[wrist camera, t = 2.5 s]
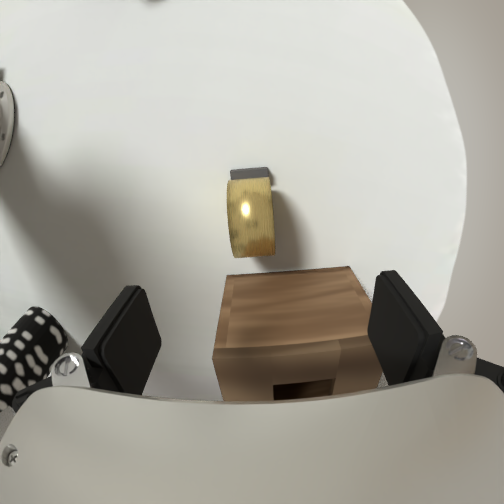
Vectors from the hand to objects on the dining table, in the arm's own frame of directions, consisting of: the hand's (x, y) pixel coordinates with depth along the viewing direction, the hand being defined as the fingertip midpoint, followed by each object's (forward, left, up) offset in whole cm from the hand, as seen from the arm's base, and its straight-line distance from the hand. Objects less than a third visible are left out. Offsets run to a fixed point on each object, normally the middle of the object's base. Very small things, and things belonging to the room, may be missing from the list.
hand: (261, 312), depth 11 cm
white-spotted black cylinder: (+14, -32, -15) cm, 38 cm away
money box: (+14, +3, -15) cm, 20 cm away
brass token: (0, 0, -15) cm, 15 cm away
